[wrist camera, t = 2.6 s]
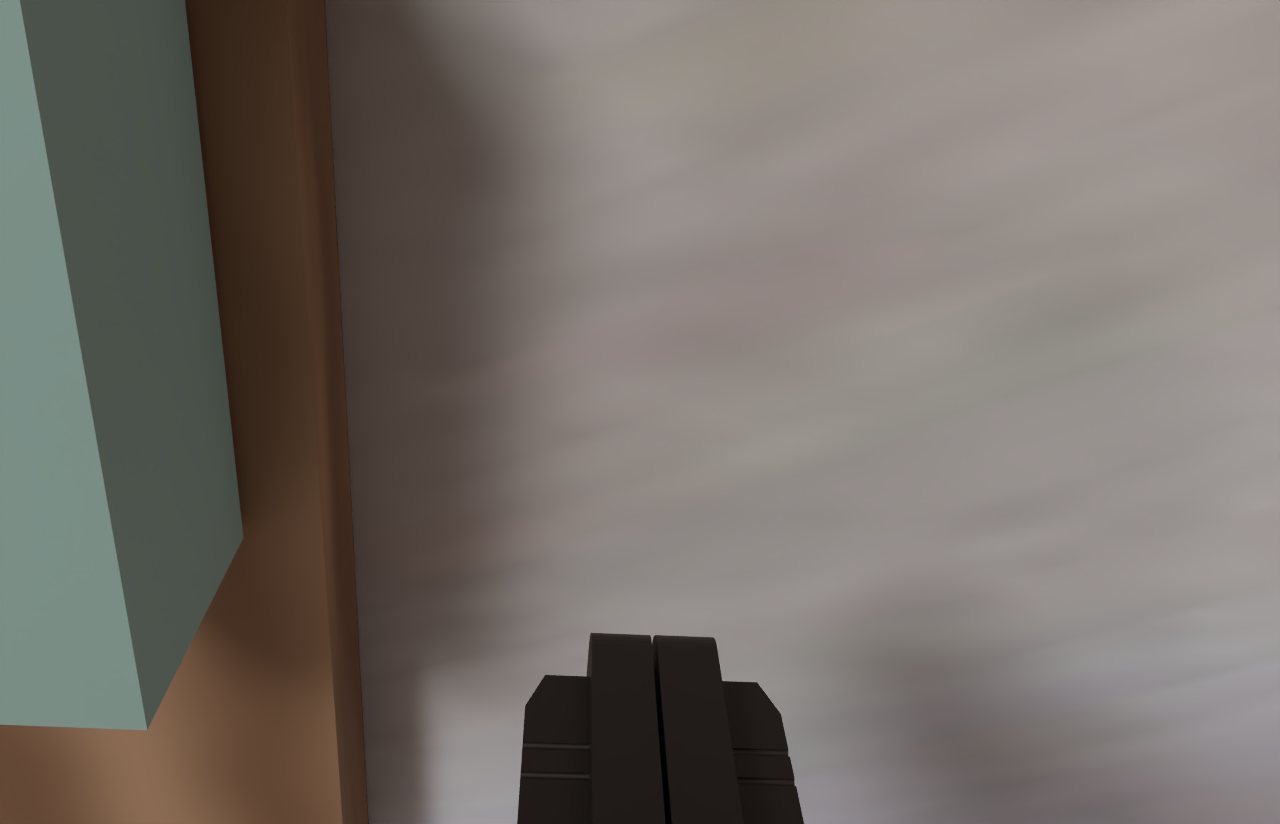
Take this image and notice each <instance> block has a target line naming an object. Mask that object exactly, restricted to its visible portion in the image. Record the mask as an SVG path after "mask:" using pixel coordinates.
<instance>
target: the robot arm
mask: <svg viewBox="0 0 1280 824" xmlns="http://www.w3.org/2000/svg"><path fill="white" fill-rule="evenodd" d="M517 824H804V822H803V817H802V812H801V807H800V803H799V798H798V793H797V788H796V786H794V774H793V769H792V765H791V760H790V757H788V746H787V741H786V736H785V732H784V727H783V722H782V717H781V714H780V712H779V711H778V710H777V708H776V707H775V706H774V704H773V703H772V702H771V700H770V699H769V698H768V696H767V695H766V694H765V692H764V691H763V690H762V688H761V687H760V686H759V684H758V683H757V682H729V681H722V677H721V671H720V664H719V658H718V651H717V645H716V641H715V639H714V638H713V637H688V636H662V635H655V636H654V638H653V642H651V637H650V635H630V634H604V633H591V634H590V641H589V653H588V665H587V677H583V676H556V675H545V676H544V678H543V679H542V681H541V682H540V684H539V686H538V687H537V689H536V690H535V692H534V693H533V695H532V696H531V698H530V699H529V701H528V702H527V704H526V706H525V719H524V733H523V749H522V763H521V778H520V792H519V807H518V822H517Z"/></svg>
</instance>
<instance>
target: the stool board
mask: <svg viewBox="0 0 1280 824" xmlns="http://www.w3.org/2000/svg"><path fill="white" fill-rule="evenodd" d="M185 6H186V15H187V24H188V33H189V42H190V52H191V61H192V70H193V79H194V88H195V98H196V107H197V116H198V125H199V134H200V144H201V153H202V162H203V171H204V180H205V189H206V199H207V208H208V217H209V226H210V235H211V245H212V254H213V263H214V272H215V281H216V290H217V300H218V309H219V318H220V327H221V336H222V346H223V355H224V364H225V373H226V382H227V391H228V401H229V410H230V419H231V428H232V437H233V447H234V456H235V465H236V474H237V483H238V492H239V502H240V511H241V520H242V529H243V540H242V542H241V544H240V546H239V548H238V550H237V552H236V554H235V556H234V558H233V560H232V562H231V564H230V566H229V568H228V570H227V572H226V574H225V576H224V578H223V580H222V582H221V584H220V586H219V588H218V590H217V592H216V594H215V596H214V598H213V600H212V602H211V604H210V606H209V608H208V610H207V612H206V614H205V616H204V618H203V620H202V622H201V624H200V626H199V628H198V630H197V632H196V634H195V636H194V638H193V640H192V642H191V644H190V646H189V648H188V650H187V652H186V654H185V656H184V658H183V660H182V662H181V664H180V666H179V668H178V670H177V672H176V674H175V676H174V678H173V680H172V682H171V684H170V686H169V688H168V690H167V692H166V694H165V696H164V698H163V700H162V702H161V704H160V706H159V708H158V710H157V712H156V714H155V716H154V718H153V720H152V722H151V724H150V726H149V728H148V730H126V729H100V728H75V727H49V726H24V725H0V824H368V807H367V788H366V770H365V751H364V732H363V713H362V695H361V676H360V657H359V638H358V620H357V601H356V582H355V563H354V545H353V526H352V507H351V488H350V470H349V451H348V432H347V413H346V395H345V376H344V357H343V338H342V320H341V301H340V282H339V263H338V245H337V226H336V207H335V188H334V170H333V151H332V132H331V113H330V95H329V76H328V57H327V38H326V20H325V1H324V0H185Z"/></svg>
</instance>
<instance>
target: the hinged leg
mask: <svg viewBox="0 0 1280 824" xmlns="http://www.w3.org/2000/svg"><path fill="white" fill-rule="evenodd" d="M242 540H243V529H242V520H241V511H240V502H239V492H238V483H237V474H236V465H235V456H234V447H233V437H232V428H231V419H230V410H229V401H228V391H227V382H226V373H225V364H224V355H223V346H222V336H221V327H220V318H219V309H218V300H217V290H216V281H215V272H214V263H213V254H212V245H211V235H210V226H209V217H208V208H207V199H206V189H205V180H204V171H203V162H202V153H201V144H200V134H199V125H198V116H197V107H196V98H195V88H194V79H193V70H192V61H191V52H190V42H189V33H188V24H187V15H186V6H185V0H0V725H24V726H49V727H75V728H100V729H126V730H148V728H149V726H150V724H151V722H152V720H153V718H154V716H155V714H156V712H157V710H158V708H159V706H160V704H161V702H162V700H163V698H164V696H165V694H166V692H167V690H168V688H169V686H170V684H171V682H172V680H173V678H174V676H175V674H176V672H177V670H178V668H179V666H180V664H181V662H182V660H183V658H184V656H185V654H186V652H187V650H188V648H189V646H190V644H191V642H192V640H193V638H194V636H195V634H196V632H197V630H198V628H199V626H200V624H201V622H202V620H203V618H204V616H205V614H206V612H207V610H208V608H209V606H210V604H211V602H212V600H213V598H214V596H215V594H216V592H217V590H218V588H219V586H220V584H221V582H222V580H223V578H224V576H225V574H226V572H227V570H228V568H229V566H230V564H231V562H232V560H233V558H234V556H235V554H236V552H237V550H238V548H239V546H240V544H241V542H242Z"/></svg>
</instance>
